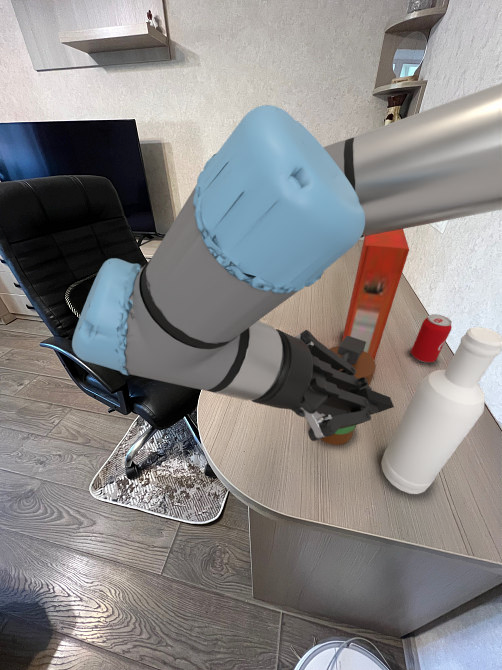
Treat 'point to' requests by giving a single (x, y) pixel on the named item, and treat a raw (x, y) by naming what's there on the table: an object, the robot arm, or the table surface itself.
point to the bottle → (440, 414)
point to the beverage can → (431, 338)
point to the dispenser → (364, 367)
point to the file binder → (375, 287)
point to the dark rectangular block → (330, 411)
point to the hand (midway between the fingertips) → (383, 405)
